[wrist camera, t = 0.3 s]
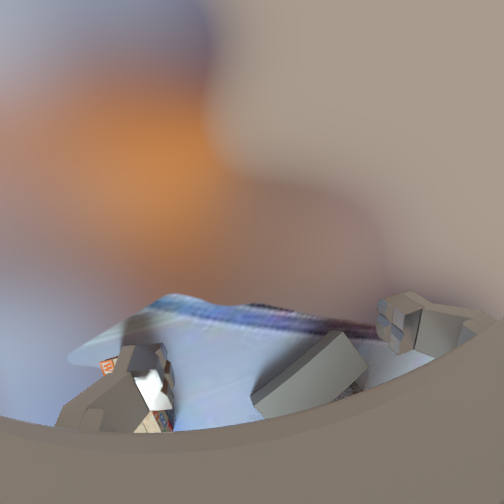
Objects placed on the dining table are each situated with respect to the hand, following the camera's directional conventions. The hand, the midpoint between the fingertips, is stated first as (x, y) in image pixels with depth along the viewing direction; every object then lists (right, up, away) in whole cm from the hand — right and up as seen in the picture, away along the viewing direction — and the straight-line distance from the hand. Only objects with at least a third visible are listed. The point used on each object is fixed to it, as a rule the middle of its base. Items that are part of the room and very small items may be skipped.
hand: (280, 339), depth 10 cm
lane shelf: (+12, -27, +50) cm, 58 cm away
